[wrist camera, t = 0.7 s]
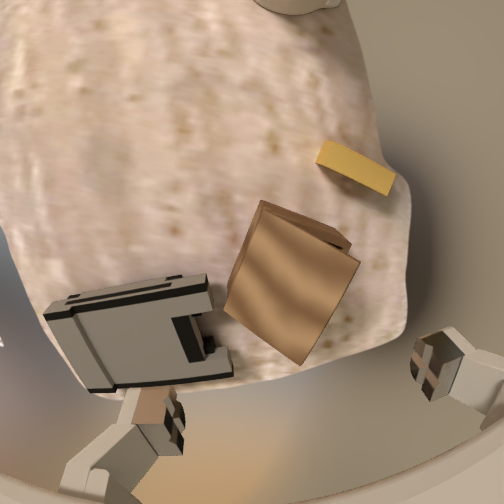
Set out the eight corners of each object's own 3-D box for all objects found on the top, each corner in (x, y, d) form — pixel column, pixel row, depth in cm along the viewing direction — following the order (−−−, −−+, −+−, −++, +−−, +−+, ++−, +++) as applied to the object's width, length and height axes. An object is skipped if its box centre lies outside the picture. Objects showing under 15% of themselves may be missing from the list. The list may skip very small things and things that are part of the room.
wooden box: (260, 199, 49) (266, 211, 41) (335, 228, 51) (351, 244, 44) (227, 283, 54) (227, 307, 46) (297, 304, 57) (307, 328, 49)
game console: (232, 353, 60) (233, 381, 53) (100, 368, 60) (90, 393, 53) (207, 263, 52) (204, 286, 45) (60, 292, 52) (42, 314, 45)
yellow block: (323, 140, 46) (334, 141, 41) (382, 170, 48) (396, 174, 44) (314, 162, 47) (324, 165, 42) (373, 190, 50) (386, 196, 45)
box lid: (267, 210, 41) (263, 210, 40) (361, 262, 35) (359, 263, 34) (227, 308, 46) (223, 309, 46) (303, 363, 40) (300, 366, 39)
